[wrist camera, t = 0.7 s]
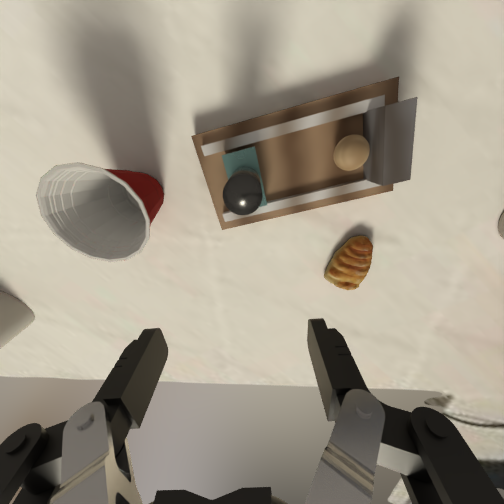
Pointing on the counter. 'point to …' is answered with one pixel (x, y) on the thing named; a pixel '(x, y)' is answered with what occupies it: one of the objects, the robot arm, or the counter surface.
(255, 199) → the jaw
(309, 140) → the base
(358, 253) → the pastry
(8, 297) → the lumpy-topped squat cylinder
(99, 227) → the plastic cup
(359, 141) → the walnut
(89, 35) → the counter surface
